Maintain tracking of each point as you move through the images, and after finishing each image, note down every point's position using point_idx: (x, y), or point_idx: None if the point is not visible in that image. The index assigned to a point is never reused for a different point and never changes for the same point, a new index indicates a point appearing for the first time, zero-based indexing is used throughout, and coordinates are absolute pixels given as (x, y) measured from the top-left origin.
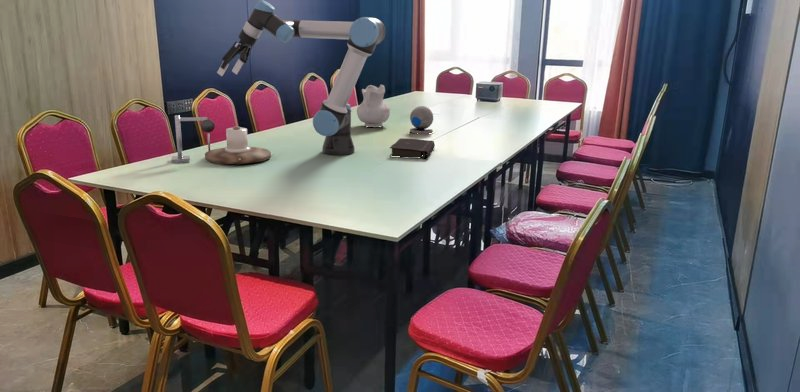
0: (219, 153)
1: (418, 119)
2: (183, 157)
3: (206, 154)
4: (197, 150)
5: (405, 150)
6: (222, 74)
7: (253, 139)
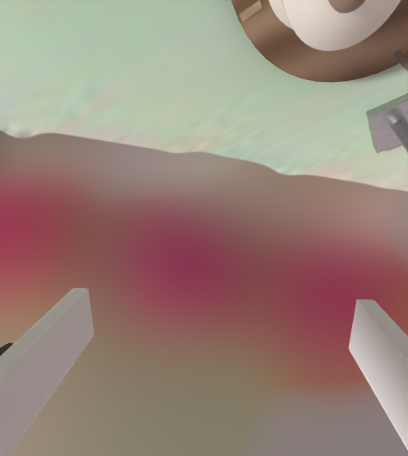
0: None
1: None
2: (400, 118)
3: None
4: (246, 148)
5: None
6: (383, 313)
7: (18, 77)
